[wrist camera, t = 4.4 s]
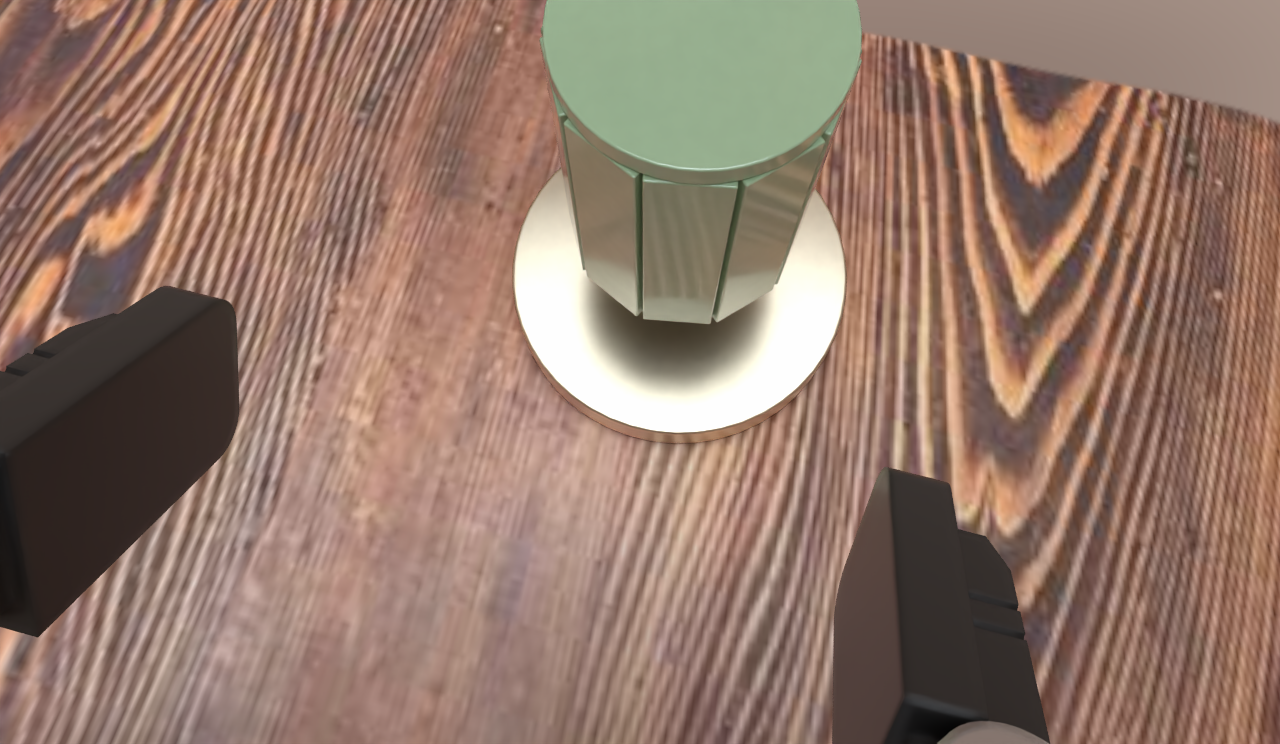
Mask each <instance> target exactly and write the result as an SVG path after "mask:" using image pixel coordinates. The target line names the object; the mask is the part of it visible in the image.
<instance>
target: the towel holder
mask: <svg viewBox="0 0 1280 744" xmlns="http://www.w3.org/2000/svg"><path fill="white" fill-rule="evenodd" d="M846 287H847V271H846V261H845V253H844V249H843V245H842V241H841V237H840V234H839V231H838V229H837V226H836V224H835V221H834V218H833V216H832V214H831V212H830V211H829V209H828V207H827V205H826V203H825V202H824V200H823V198H822V197H821V195H820V194H819V193H818V191H817V190H816V189H815V190H814V192H813V195H812V198H811V200H810V203H809V206H808V209H807V211H806V214H805V217H804V219H803V222H802V225H801V228H800V230H799V233H798V235H797V238H796V240H795V243H794V245H793V247H792V250H791V252H790V255H789V257H788V260H787V262H786V265H785V267H784V270H783V272H782V275H781V277H780V280H779V282H778V284H775V285H774V287H773V290H772V291H770V292H768V293H767V294H765V295H763V296H761V297H760V298H758V299H756V300H755V301H753V302H751V303H749V304H748V305H746V306H744V307H743V308H741V309H739V310H738V311H736V312H734V313H732V314H731V315H729V316H727V317H726V318H724V319H722V320H721V321H719V322H716V321H715V320H714V318H713V317H712V319H711V323H710V324H702V323H688V322H675V321H662V320H648V319H643V311H642V312H641V313H640V314H639V315H638V316H635V315H634V314H633V313H632V312H630V311H629V310H628V309H627V308H625V307H624V306H623V305H622V304H621V303H619V302H618V301H617V300H616V299H614V298H613V297H612V296H611V295H609V294H608V293H607V292H606V291H605V290H603V289H602V288H601V287H600V286H598V285H597V284H596V283H595V282H593V281H592V280H591V279H590V278H588V277H587V274H586V270H583V269H582V265H581V261H580V256H579V252H578V248H577V244H576V240H575V235H574V231H573V227H572V223H571V219H570V214H569V209H568V203H567V198H566V192H565V186H564V180H563V174H562V168H560V169H559V170H558V171H557V172H555V173H554V174H553V175H552V177H551V178H550V179H549V180H548V181H547V183H546V184H545V185H544V186H543V188H542V189H541V190H540V191H539V193H538V195H537V196H536V198H535V200H534V201H533V203H532V205H531V206H530V208H529V210H528V212H527V214H526V217H525V219H524V221H523V223H522V226H521V228H520V232H519V235H518V239H517V242H516V246H515V252H514V259H513V267H512V288H513V295H514V302H515V308H516V312H517V315H518V319H519V322H520V326H521V329H522V331H523V334H524V337H525V339H526V342H527V344H528V346H529V348H530V351H531V353H532V355H533V357H534V359H535V361H536V363H537V364H538V366H539V367H540V369H541V371H542V372H543V374H544V375H545V377H546V378H547V379H548V380H549V382H550V383H551V384H552V385H553V386H554V388H555V389H556V390H557V391H558V392H559V393H560V394H561V395H562V396H563V397H564V398H565V399H566V400H567V401H568V402H569V403H571V404H572V405H573V406H574V407H575V408H577V409H578V410H579V411H581V412H582V413H584V414H585V415H587V416H588V417H589V418H591V419H592V420H594V421H596V422H598V423H600V424H602V425H604V426H606V427H608V428H610V429H612V430H615V431H617V432H620V433H623V434H626V435H628V436H631V437H635V438H640V439H644V440H649V441H654V442H665V443H698V442H704V441H710V440H716V439H720V438H724V437H727V436H730V435H733V434H737V433H740V432H742V431H744V430H746V429H749V428H751V427H753V426H755V425H757V424H760V423H761V422H763V421H764V420H766V419H768V418H769V417H771V416H772V415H774V414H775V413H777V412H778V411H780V410H781V409H782V408H783V407H784V406H786V405H787V404H788V403H789V402H790V401H792V400H793V399H794V398H795V397H796V396H797V395H798V393H799V392H800V391H801V390H802V389H803V388H804V387H805V386H806V385H807V384H808V382H809V381H810V379H811V378H812V376H813V375H814V374H815V372H816V371H817V369H818V368H819V366H820V365H821V363H822V361H823V360H824V358H825V356H826V355H827V353H828V351H829V349H830V347H831V345H832V343H833V341H834V339H835V337H836V334H837V331H838V328H839V325H840V322H841V319H842V316H843V310H844V305H845V299H846Z"/></svg>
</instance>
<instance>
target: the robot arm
mask: <svg viewBox="0 0 1280 744" xmlns="http://www.w3.org/2000/svg"><path fill="white" fill-rule="evenodd" d="M238 417H239V384H238V353H237V323H236V315H235V311H234V309H233V307H232V305H231V304H230V303H229V302H228V301H226V300H223V299H219V298H215V297H211V296H207V295H203V294H199V293H195V292H191V291H187V290H183V289H179V288H175V287H171V286H163V287H160V288H158V289H156V290H155V291H153V292H152V293H150V294H149V295H147V296H146V297H144V298H142V299H141V300H139V301H138V302H136V303H135V304H133V305H132V306H130V307H129V308H127V309H126V310H124V311H122V312H121V313H119V314H114V313H113V314H110V315H107V316H104V317H101V318H98V319H94V320H91V321H88V322H85V323H82V324H79V325H75V326H72V327H69V328H67V329H65V330H64V331H62V332H61V333H59V334H57V335H56V336H54V337H53V338H51V339H49V340H48V341H46V342H45V343H43V344H41V345H40V346H38V347H37V348H35V349H34V353H33V354H29V353H27V354H25V355H24V356H22V357H21V358H19V359H17V360H16V361H14V362H13V363H11V364H9V365H8V366H6V371H5V372H2V371H0V627H3V628H6V629H10V630H14V631H17V632H21V633H24V634H28V635H31V636H35V637H39V636H40V635H41V634H42V633H43V632H44V631H45V630H46V629H47V628H48V627H49V626H50V625H51V624H52V623H53V622H54V621H55V620H56V619H57V618H58V617H59V616H60V615H61V614H62V613H63V612H64V611H65V610H66V609H67V608H68V607H69V606H70V605H71V604H72V603H73V602H74V601H75V600H76V599H77V598H78V597H79V596H80V595H81V594H82V593H83V592H84V591H85V590H86V589H87V588H88V587H89V586H91V585H92V584H93V583H94V582H95V581H96V580H97V579H98V578H99V577H100V576H101V575H102V574H103V573H104V572H105V571H106V570H107V569H108V568H109V567H110V566H111V565H112V564H113V563H114V562H115V561H116V560H117V559H118V558H119V557H120V556H121V555H122V554H123V553H124V552H125V551H126V550H127V549H128V548H129V547H130V546H131V545H132V544H133V543H134V542H135V541H136V540H137V539H138V538H139V537H140V536H141V535H142V534H143V533H144V532H145V531H146V530H147V529H148V528H149V527H150V526H151V525H152V524H153V523H154V522H155V521H156V520H157V519H158V518H159V517H161V516H162V515H163V514H164V513H165V512H166V511H167V510H168V509H169V508H170V507H171V506H172V505H173V504H174V503H175V502H176V501H177V500H178V499H179V498H180V497H181V496H182V495H183V494H184V493H185V492H186V491H187V490H188V489H189V488H190V487H191V486H192V485H193V484H194V483H195V482H196V481H197V480H198V479H199V478H200V477H201V476H202V475H203V474H204V473H205V472H206V471H207V470H208V469H209V468H210V467H211V466H212V465H213V464H214V463H215V462H216V461H217V460H218V459H219V458H220V457H221V456H222V455H223V454H224V452H225V451H226V449H227V448H228V446H229V444H230V442H231V440H232V438H233V435H234V433H235V430H236V426H237V422H238ZM1017 608H1018V600H1017V596H1016V591H1015V587H1014V583H1013V578H1012V574H1011V570H1010V569H1009V568H1008V566H1007V565H1006V563H1005V562H1004V561H1003V559H1002V558H1001V557H1000V555H999V554H998V553H997V551H996V550H995V548H994V547H993V546H992V544H991V543H990V542H989V540H988V539H987V537H986V536H982V535H978V534H974V533H971V532H967V531H963V530H959V529H958V528H957V522H956V516H955V510H954V504H953V498H952V492H951V487H950V485H949V483H947V482H944V481H940V480H936V479H932V478H928V477H924V476H920V475H916V474H912V473H908V472H904V471H900V470H896V469H892V468H888V467H884V468H883V469H882V471H881V472H880V474H879V476H878V478H877V480H876V483H875V485H874V488H873V491H872V493H871V496H870V499H869V501H868V504H867V507H866V510H865V512H864V515H863V518H862V521H861V523H860V526H859V529H858V531H857V534H856V537H855V540H854V542H853V545H852V548H851V550H850V553H849V556H848V559H847V561H846V564H845V567H844V570H843V573H842V577H841V580H840V584H839V589H838V594H837V599H836V605H835V613H834V653H833V726H832V744H1050V741H1049V736H1048V732H1047V727H1046V723H1045V719H1044V714H1043V710H1042V705H1041V701H1040V697H1039V692H1038V688H1037V684H1036V679H1035V675H1034V670H1033V666H1032V662H1031V657H1030V653H1029V648H1028V644H1027V641H1026V640H1024V635H1025V631H1024V627H1023V622H1022V618H1021V613H1020V612H1019V611H1017Z"/></svg>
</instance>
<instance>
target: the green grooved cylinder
mask: <svg viewBox="0 0 1280 744" xmlns="http://www.w3.org/2000/svg"><path fill="white" fill-rule="evenodd" d="M541 34H542V37H541V38H540V46H541V52H542V57H543V63H544V69H545V75H546V81H547V87H548V93H549V98H550V104H551V110H552V116H553V122H554V128H555V133H556V139H557V145H558V151H559V157H560V163H561V168H562V174H563V180H564V186H565V192H566V198H567V203H568V209H569V214H570V219H571V223H572V227H573V231H574V235H575V240H576V244H577V248H578V252H579V256H580V261H581V265H582V269H583V270H586V274H587V277H588V278H590V279H591V280H592V281H593V282H595V283H596V284H597V285H598V286H600V287H601V288H602V289H603V290H605V291H606V292H607V293H608V294H609V295H611V296H612V297H613V298H614V299H616V300H617V301H618V302H619V303H621V304H622V305H623V306H624V307H625V308H627V309H628V310H629V311H630V312H632V313H633V314H634V315H635V316H638V315H639V314H640V313H641V312H642V311H643V319H648V320H662V321H675V322H688V323H702V324H710V323H711V319H712V317H713V318H714V320H715V321H716V322H719V321H721V320H722V319H724V318H726V317H727V316H729V315H731V314H732V313H734V312H736V311H738V310H739V309H741V308H743V307H744V306H746V305H748V304H749V303H751V302H753V301H755V300H756V299H758V298H760V297H761V296H763V295H765V294H767V293H768V292H770V291H772V290H773V287H774V285H775V284H778V282H779V280H780V277H781V275H782V272H783V270H784V267H785V265H786V262H787V260H788V257H789V255H790V252H791V250H792V247H793V245H794V243H795V240H796V238H797V235H798V233H799V230H800V228H801V225H802V222H803V219H804V217H805V214H806V211H807V209H808V206H809V203H810V200H811V198H812V195H813V192H814V190H815V187H816V184H817V181H818V179H819V176H820V173H821V171H822V168H823V165H824V163H825V160H826V157H827V154H828V152H829V149H830V146H831V144H832V141H833V138H834V135H835V133H836V130H837V127H838V125H839V122H840V119H841V116H842V114H843V111H844V108H845V106H846V103H847V100H848V98H849V95H850V92H851V89H852V87H853V84H854V81H855V79H856V76H857V73H858V70H859V68H860V65H861V62H862V61H861V59H860V56H861V53H862V50H861V42H862V28H861V19H860V12H859V8H858V5H857V1H856V0H547V2H546V5H545V11H544V18H543V26H542V28H541Z"/></svg>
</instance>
